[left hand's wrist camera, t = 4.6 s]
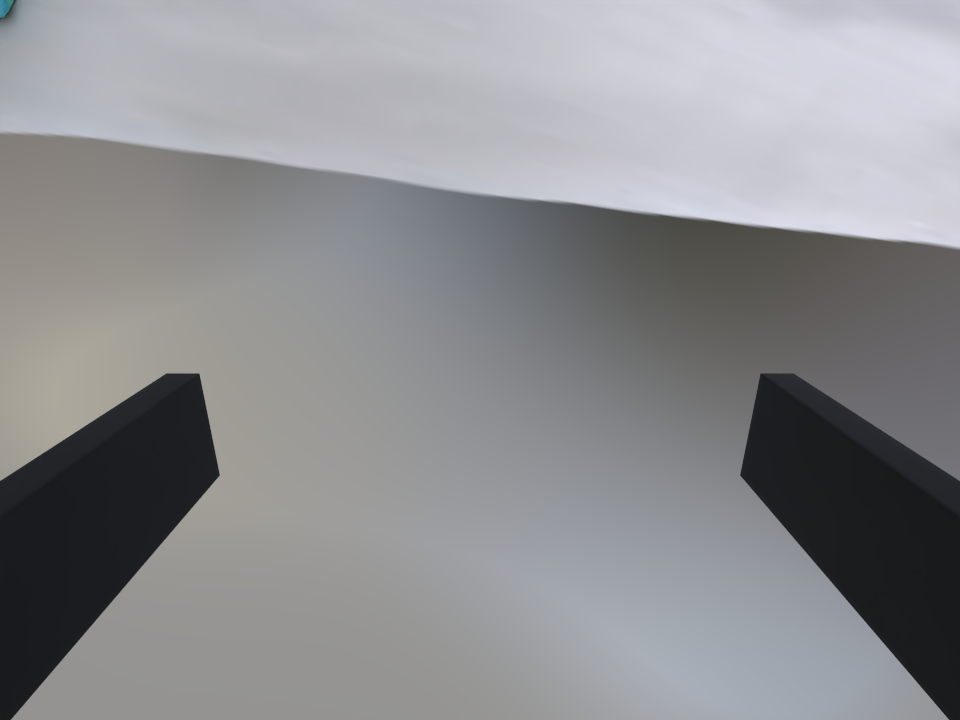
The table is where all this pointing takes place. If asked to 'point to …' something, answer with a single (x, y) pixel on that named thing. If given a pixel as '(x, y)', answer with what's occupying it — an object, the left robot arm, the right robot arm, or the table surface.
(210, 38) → the table surface
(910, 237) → the table surface
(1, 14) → the decorative hourglass
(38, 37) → the table surface
